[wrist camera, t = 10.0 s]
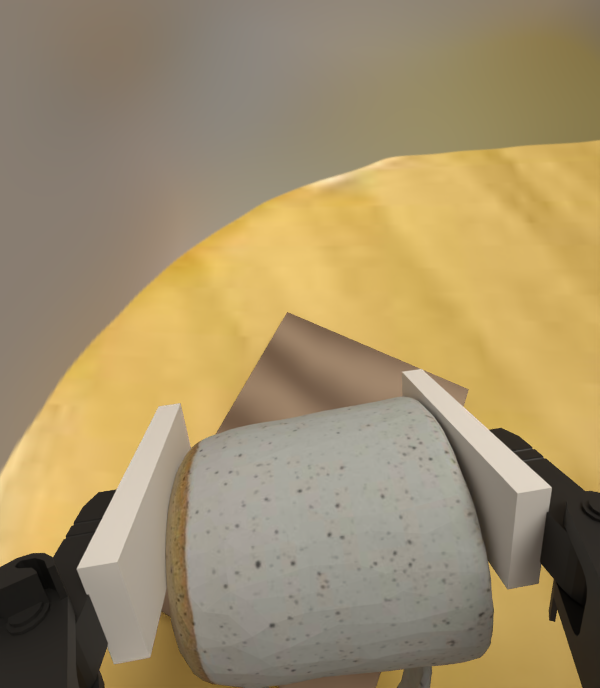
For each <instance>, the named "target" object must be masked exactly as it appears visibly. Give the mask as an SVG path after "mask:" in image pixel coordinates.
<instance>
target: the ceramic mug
mask: <svg viewBox="0 0 600 688" xmlns="http://www.w3.org/2000/svg"><path fill="white" fill-rule="evenodd" d="M165 558H166V579H167V590H168V599H169V607H170V616H171V622H172V626H173V630H174V634H175V638H176V641H177V644H178V648H179V651H180V653H181V654H182V656H183V657H184V659H185V661H186V662H187V664H188V665H189V667H190V668H191V670H192V671H193V673H194V674H195V675H196V676H198V677H199V678H200V679H202V680H203V681H206V682H209V683H211V684H218V685H226V686H236V687H243V688H269V686H278V685H287V684H292V683H297V682H302V681H307V680H311V679H316V678H321V677H329V676H340V675H351V674H361V673H372V672H383V671H392V670H400V669H404V672H403V676H402V680H401V682H400V683H399V685H398V687H397V688H430V683H431V675H432V666H438V665H448V664H455V663H461V662H467V661H470V660H473V659H477V658H480V657H481V656H482V655H483V654H485V652H486V651H487V649H488V648H489V646H490V644H491V637H492V631H493V614H494V608H493V601H492V591H491V577H490V571H489V565H488V559H487V553H486V547H485V544H484V541H483V538H482V534H481V529H480V525H479V521H478V517H477V513H476V510H475V506H474V503H473V500H472V498H471V495H470V492H469V489H468V487H467V485H466V482H465V480H464V477H463V475H462V472H461V470H460V467H459V464H458V462H457V459H456V456H455V454H454V451H453V449H452V447H451V445H450V443H449V441H448V439H447V437H446V435H445V433H444V431H443V429H442V428H441V426H440V425H439V423H438V422H437V420H436V419H435V418H434V416H433V415H432V414H431V413H430V412H429V411H428V410H427V409H426V408H425V407H424V406H423V405H422V404H421V403H420V402H419V401H417V400H415V399H413V398H409V397H395V398H390V399H386V400H382V401H377V402H372V403H366V404H361V405H355V406H349V407H343V408H338V409H332V410H326V411H321V412H317V413H312V414H307V415H303V416H298V417H293V418H288V419H282V420H276V421H269V422H263V423H257V424H251V425H247V426H242V427H238V428H234V429H230V430H227V431H225V432H222V433H219V434H216V435H213V436H210V437H208V438H206V439H204V440H202V441H200V442H198V443H197V444H195V445H194V446H193V447H192V448H191V449H190V450H189V452H188V453H187V454H186V456H185V457H184V459H183V461H182V463H181V465H180V466H179V468H178V471H177V473H176V476H175V479H174V483H173V487H172V491H171V495H170V501H169V507H168V516H167V528H166V548H165Z"/></svg>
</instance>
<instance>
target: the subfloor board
mask: <svg viewBox="0 0 600 688" xmlns="http://www.w3.org/2000/svg"><path fill="white" fill-rule="evenodd" d="M418 369H419V368H417V367H415V366H412V365H410V364H408V363H405V362H403V361H401V360H398V359H396V358H394V357H391V356H389V355H387V354H384V353H382V352H380V351H377V350H375V349H372V348H370V347H368V346H365V345H363V344H361V343H358V342H356V341H354V340H351V339H349V338H347V337H344V336H342V335H340V334H337V333H335V332H333V331H330V330H328V329H326V328H323V327H321V326H319V325H316V324H314V323H312V322H309V321H307V320H304V319H302V318H300V317H297V316H295V315H293V314H290V313H288V312H287V314H286V315H285V317H284V319H283V321H282V322H281V324H280V326H279V327H278V329H277V331H276V332H275V334H274V336H273V338H272V339H271V341H270V343H269V344H268V346H267V348H266V350H265V351H264V353H263V355H262V356H261V358H260V360H259V361H258V363H257V365H256V367H255V368H254V370H253V372H252V373H251V375H250V377H249V378H248V380H247V382H246V384H245V385H244V387H243V389H242V390H241V392H240V394H239V396H238V397H237V399H236V401H235V402H234V404H233V406H232V407H231V409H230V411H229V413H228V414H227V416H226V418H225V419H224V421H223V423H222V424H221V426H220V428H219V430H218V431H217V433H216V434H219V433H222V432H225V431H227V430H230V429H234V428H238V427H242V426H247V425H251V424H257V423H263V422H269V421H276V420H282V419H288V418H293V417H298V416H303V415H307V414H312V413H317V412H321V411H326V410H332V409H338V408H343V407H349V406H355V405H361V404H366V403H372V402H377V401H382V400H386V399H390V398H395V397H402V372H404V371H411V370H418ZM423 371H424V370H423ZM424 372H426V371H424ZM426 373H427V374H428V375H429V376H430V377H431V378H432V379H433V380H434V381H435V382H437V383H438V384H439V385H440V386H441V387H442V388H443V389H444V390H445V391H446V392H448V393H449V394H450V395H451V396H452V397H453V398H454V399H455V400H456V401H457V402H459V403H460V404H461V405H462V406H464V403H465V400H466V396H467V393H468V390H469V389H466V388H464V387H462V386H459V385H457V384H455V383H452V382H450V381H448V380H445V379H443V378H440V377H438V376H436V375H433V374H431V373H429V372H426ZM161 611H162V612H164V613H165V614H167V615H168V616H170V607H169V599H168V590H167V589H166V593H165V597H164V602H163V606H162V610H161ZM170 617H171V616H170ZM380 673H381V672H372V673H361V674H351V675H340V676H329V677H321V678H316V679H311V680H307V681H302V682H297V683H292V684H287V685H278V686H279V687H280V688H376V685H377V682H378V679H379V676H380Z"/></svg>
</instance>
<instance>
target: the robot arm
mask: <svg viewBox="0 0 600 688" xmlns="http://www.w3.org/2000/svg"><path fill="white" fill-rule="evenodd" d="M402 397H409V398H413V399H415V400H417V401H419V402H420V403H421V404H422V405H423V406H424V407H425V408H426V409H427V410H428V411H429V412H430V413H431V414H432V415H433V416H434V418H435V419H436V420H437V422H438V423H439V425H440V426H441V428H442V429H443V431H444V433H445V435H446V437H447V439H448V441H449V443H450V445H451V447H452V449H453V451H454V454H455V456H456V459H457V462H458V464H459V467H460V470H461V472H462V475H463V477H464V480H465V482H466V485H467V487H468V489H469V492H470V495H471V498H472V500H473V503H474V506H475V510H476V513H477V517H478V521H479V525H480V529H481V534H482V538H483V541H484V544H485V547H486V553H487V559H488V561H489V563H490V564H491V566H492V567H493V569H494V570H495V572H496V573H497V575H498V576H499V577H500V579H501V580H502V582H503V583H504V585H505V586H506V588H507V589H512V588H517V587H523V586H528V585H533V584H538V583H539V576H540V569H541V564H542V565H543V566H544V568H545V569H546V570H547V571H548V572H549V574H550V575H551V576H552V577H553V578H554V581H553V588H552V594H551V600H550V607H549V620H550V621H554V622H555V619H556V613H557V609H558V613H559V616H560V619H561V622H562V625H563V628H564V631H565V634H566V638H567V641H568V644H569V647H570V650H571V653H572V656H573V659H574V662H575V666H576V669H577V672H578V675H579V678H580V681H581V684H582V687H583V688H600V493H598V492H593V491H584V490H583V489H582V488H581V487H580V486H578V485H577V484H576V483H575V482H574V481H572V480H571V479H570V478H569V477H568V476H566V475H565V474H564V473H563V472H562V471H560V470H559V469H558V468H557V467H555V466H554V465H553V464H552V463H551V462H549V461H548V460H547V459H544V458H543V456H542V455H541V454H540V453H539V452H537V451H536V450H535V449H532V447H531V446H530V445H529V444H528V443H527V442H525V441H524V440H523V439H522V438H520V437H519V436H517V435H515V434H513V433H511V432H509V431H507V430H505V429H502V428H498V429H491V430H488V429H487V428H486V427H485V426H484V425H483V424H482V423H481V422H479V421H478V420H477V419H476V418H475V417H474V416H473V415H472V414H471V413H470V412H468V411H467V410H466V409H465V408H464V407H463V406H462V405H461V404H460V403H459V402H457V401H456V400H455V399H454V398H453V397H452V396H451V395H450V394H449V393H448V392H446V391H445V390H444V389H443V388H442V387H441V386H440V385H439V384H438V383H437V382H435V381H434V380H433V379H432V378H431V377H430V376H429V375H428V374H427V373H426V372H424V371H423V370H422V369H418V370H411V371H404V372H402ZM190 449H191V447H190V442H189V438H188V434H187V429H186V425H185V421H184V416H183V412H182V408H181V403H180V404H173V405H166V406H159V407H158V409H157V411H156V413H155V415H154V417H153V419H152V421H151V423H150V425H149V427H148V429H147V431H146V433H145V435H144V437H143V439H142V441H141V443H140V445H139V447H138V449H137V451H136V453H135V455H134V456H133V458H132V460H131V462H130V464H129V466H128V468H127V470H126V472H125V474H124V476H123V478H122V480H121V482H120V484H119V486H118V488H117V490H111V491H104V492H98V493H97V494H96V495H95V496H94V497H93V498H92V499H91V500H90V501H89V502H88V503H87V504H86V505H85V506H84V507H83V508H82V510H81V511H80V513H79V515H78V516H77V518H76V520H75V521H74V526H71V528H70V530H69V531H68V533H67V535H66V539H64V540H63V542H62V543H61V545H60V547H59V548H58V550H57V552H56V553H55V555H54V557H51V556H49V555H47V554H45V553H32V554H29V555H26V556H22V557H19V558H16V559H15V560H13V561H11V562H9V563H7V564H5V565H3V566H1V567H0V688H105V687H104V681H103V679H102V676H101V673H100V671H99V669H100V666H101V663H102V660H103V657H104V655H105V652H106V649H107V647H108V650H109V653H110V655H111V658H112V660H113V663H114V664H119V663H124V662H129V661H134V660H139V659H145V658H150V656H151V652H152V648H153V644H154V640H155V635H156V631H157V627H158V623H159V618H160V614H161V610H162V606H163V602H164V597H165V593H166V589H167V579H166V558H165V548H166V528H167V516H168V507H169V501H170V495H171V491H172V487H173V483H174V479H175V476H176V473H177V471H178V468H179V466H180V465H181V463H182V461H183V459H184V457H185V456H186V454H187V453H188V452H189V450H190Z"/></svg>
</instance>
